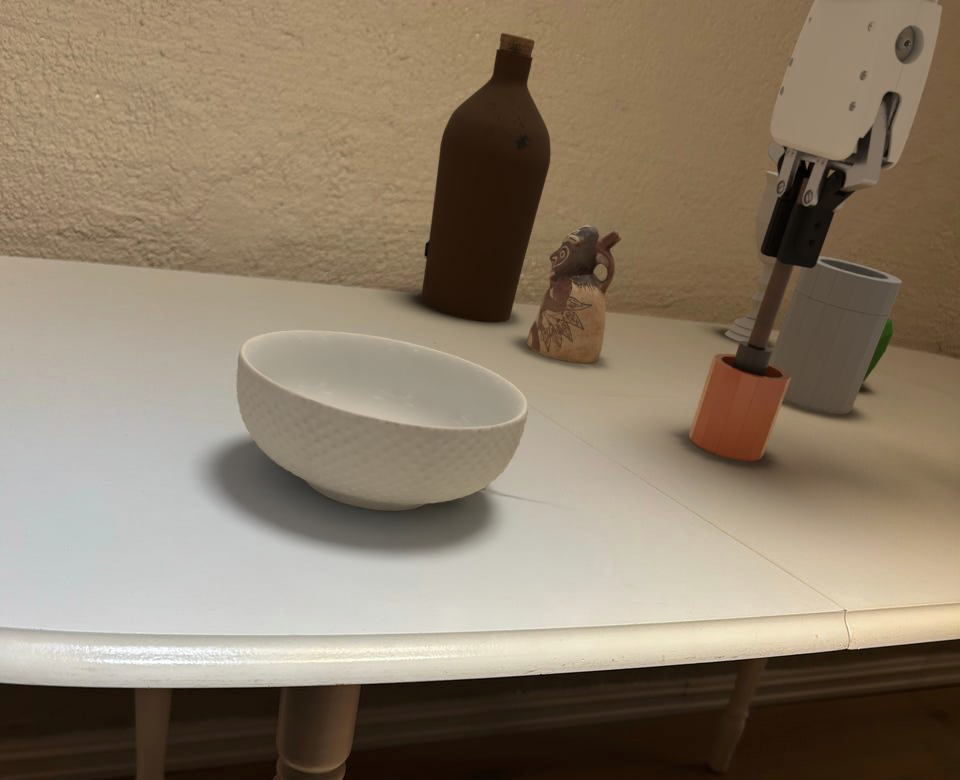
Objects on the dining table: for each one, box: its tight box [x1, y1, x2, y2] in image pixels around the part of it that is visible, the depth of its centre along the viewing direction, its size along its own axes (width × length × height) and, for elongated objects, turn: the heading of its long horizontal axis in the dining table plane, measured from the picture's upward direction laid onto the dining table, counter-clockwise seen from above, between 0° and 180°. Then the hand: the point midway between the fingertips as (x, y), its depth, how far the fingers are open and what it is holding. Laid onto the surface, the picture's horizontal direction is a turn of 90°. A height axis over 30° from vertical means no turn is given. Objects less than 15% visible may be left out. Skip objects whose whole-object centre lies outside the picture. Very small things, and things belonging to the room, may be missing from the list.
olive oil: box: [420, 32, 552, 323], centre depth 102 cm, size 11×11×25 cm
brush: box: [732, 177, 809, 376], centre depth 78 cm, size 3×3×17 cm
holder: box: [688, 353, 791, 462], centre depth 82 cm, size 6×6×7 cm
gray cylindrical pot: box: [769, 255, 903, 415], centre depth 101 cm, size 9×9×13 cm
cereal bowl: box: [236, 329, 529, 512], centre depth 62 cm, size 17×17×7 cm
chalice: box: [724, 170, 779, 343], centre depth 119 cm, size 7×7×18 cm
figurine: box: [526, 224, 622, 364], centre depth 97 cm, size 7×7×12 cm
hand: (787, 259), depth 77 cm, fingers closed on brush, 1 cm apart
